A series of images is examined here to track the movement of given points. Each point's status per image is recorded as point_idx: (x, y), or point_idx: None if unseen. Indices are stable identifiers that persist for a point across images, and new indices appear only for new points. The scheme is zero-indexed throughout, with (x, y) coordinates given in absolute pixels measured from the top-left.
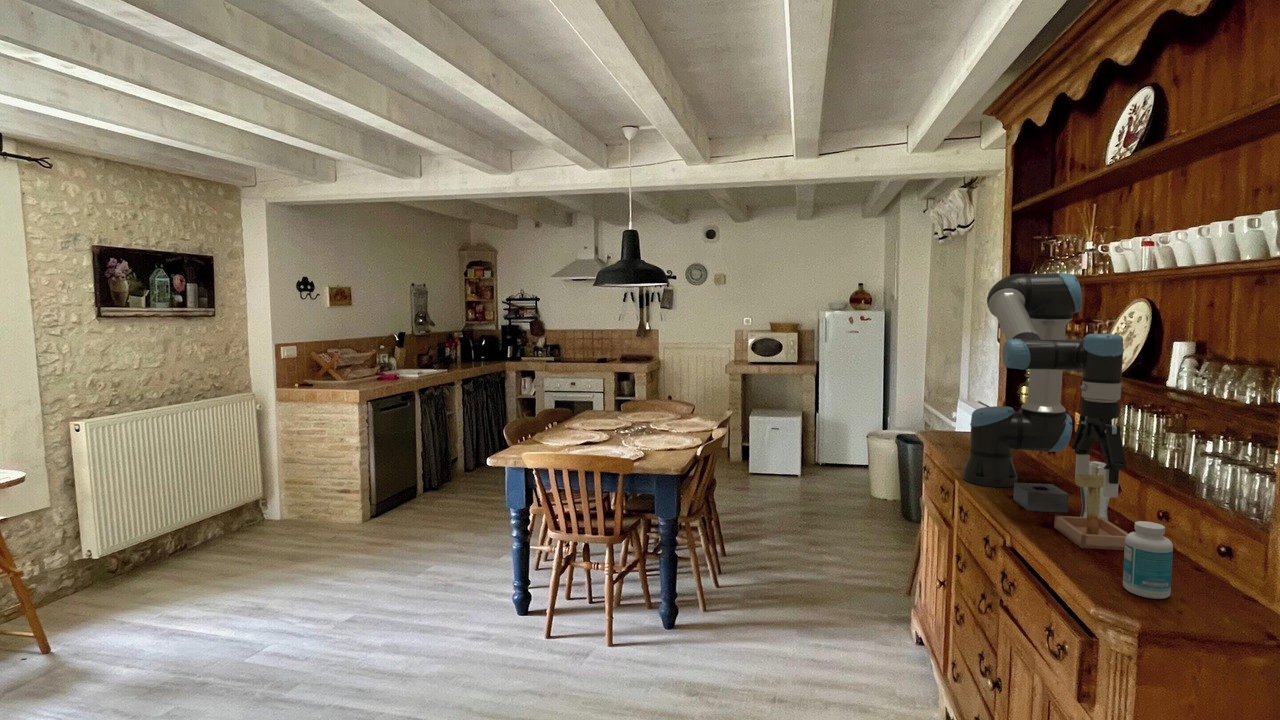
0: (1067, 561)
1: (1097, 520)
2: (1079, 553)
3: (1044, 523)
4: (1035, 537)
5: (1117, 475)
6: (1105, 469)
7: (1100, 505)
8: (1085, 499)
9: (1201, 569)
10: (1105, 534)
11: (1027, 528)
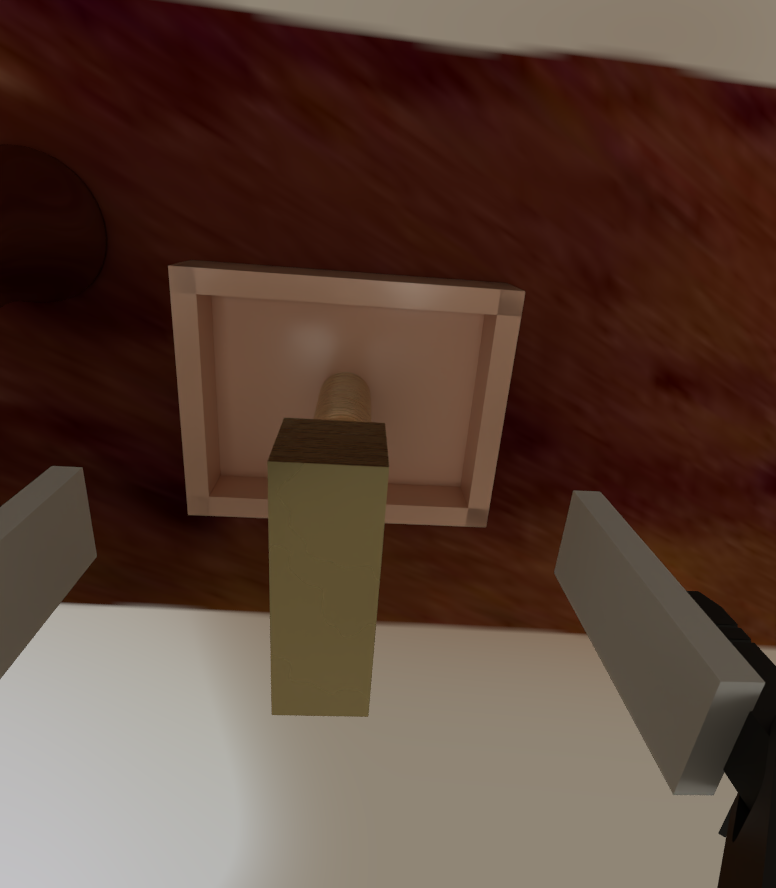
0: None
1: (369, 418)
2: (532, 529)
3: (151, 502)
4: None
5: (763, 670)
6: (692, 784)
7: (32, 234)
8: None
9: (756, 90)
10: (325, 323)
11: (245, 594)
